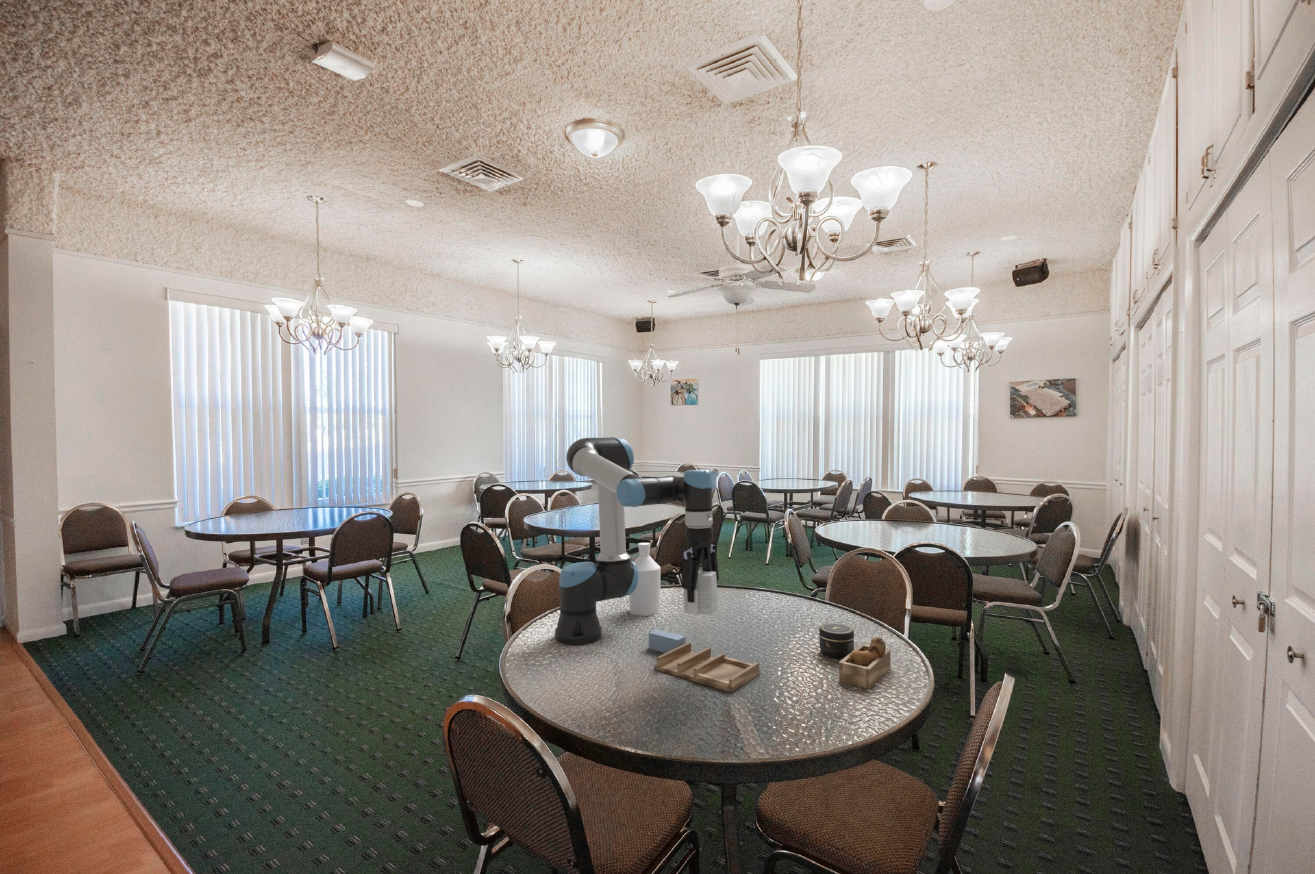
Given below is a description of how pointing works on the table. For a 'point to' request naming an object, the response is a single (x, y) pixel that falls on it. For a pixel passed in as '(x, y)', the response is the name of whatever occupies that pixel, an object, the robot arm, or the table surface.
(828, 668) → the table surface
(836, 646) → the jar
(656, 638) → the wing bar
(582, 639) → the robot arm
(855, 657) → the lion figurine
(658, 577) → the bottle
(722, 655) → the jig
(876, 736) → the table surface
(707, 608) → the small box
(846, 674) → the open wooden box
